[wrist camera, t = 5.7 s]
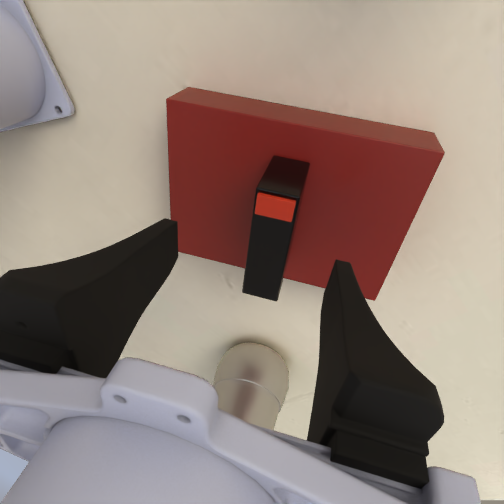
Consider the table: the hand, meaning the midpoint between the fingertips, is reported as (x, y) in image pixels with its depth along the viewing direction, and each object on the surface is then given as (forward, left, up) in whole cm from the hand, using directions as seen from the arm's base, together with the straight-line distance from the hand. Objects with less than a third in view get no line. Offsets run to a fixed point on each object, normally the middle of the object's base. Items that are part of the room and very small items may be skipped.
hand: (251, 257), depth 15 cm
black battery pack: (0, -1, -6) cm, 6 cm away
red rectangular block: (0, -1, -9) cm, 9 cm away
